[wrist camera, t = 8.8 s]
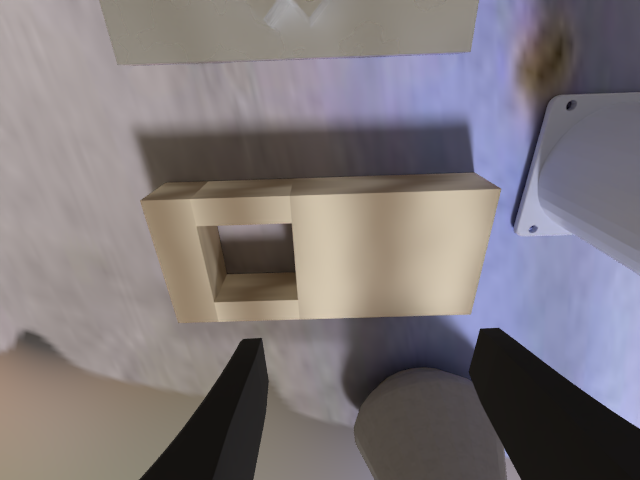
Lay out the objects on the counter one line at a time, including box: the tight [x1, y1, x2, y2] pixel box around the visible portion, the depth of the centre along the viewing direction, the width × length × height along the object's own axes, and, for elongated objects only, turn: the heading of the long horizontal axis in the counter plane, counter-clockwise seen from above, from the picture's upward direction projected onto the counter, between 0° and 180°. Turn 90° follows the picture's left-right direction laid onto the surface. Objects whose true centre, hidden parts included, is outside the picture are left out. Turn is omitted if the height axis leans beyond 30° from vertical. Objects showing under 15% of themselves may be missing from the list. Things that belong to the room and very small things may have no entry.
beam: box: [140, 172, 501, 323], centre depth 19 cm, size 18×8×3 cm, turn 92°
